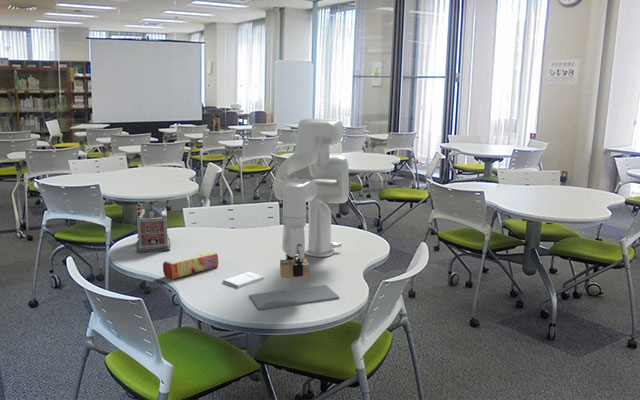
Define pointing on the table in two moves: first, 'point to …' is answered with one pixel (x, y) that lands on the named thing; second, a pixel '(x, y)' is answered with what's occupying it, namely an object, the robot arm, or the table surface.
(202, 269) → the snack package
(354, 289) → the table surface
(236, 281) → the external hard drive
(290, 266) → the card box
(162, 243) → the model building
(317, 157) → the robot arm
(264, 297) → the mat
